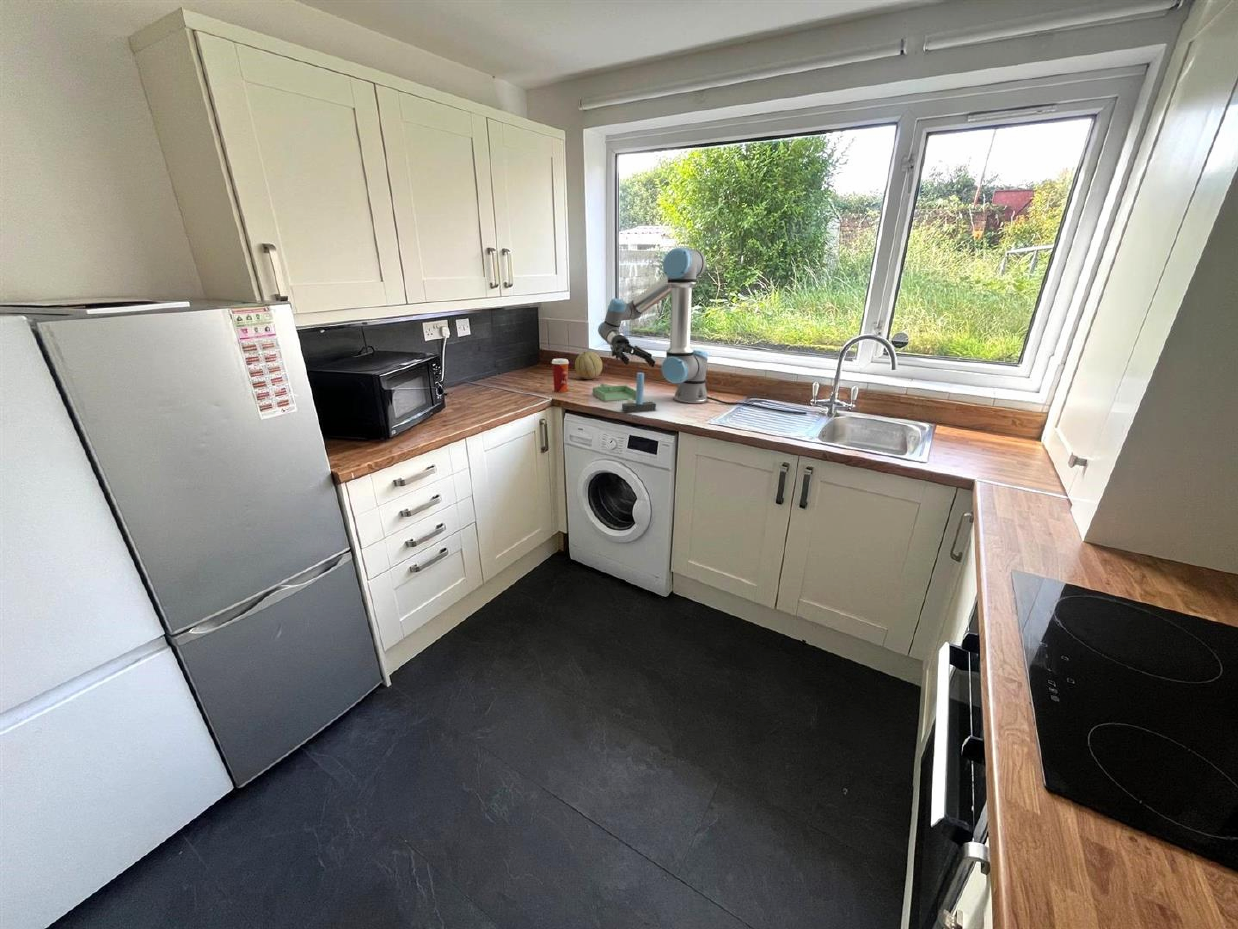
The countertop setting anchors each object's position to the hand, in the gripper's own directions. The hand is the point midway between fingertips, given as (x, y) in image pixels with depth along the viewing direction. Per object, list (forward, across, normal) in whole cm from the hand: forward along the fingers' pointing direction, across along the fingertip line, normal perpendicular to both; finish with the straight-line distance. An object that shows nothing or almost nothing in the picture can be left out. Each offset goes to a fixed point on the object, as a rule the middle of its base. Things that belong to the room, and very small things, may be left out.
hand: (641, 363), depth 212 cm
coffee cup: (-32, +16, -32) cm, 49 cm away
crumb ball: (+2, 0, -18) cm, 18 cm away
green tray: (-18, -3, -25) cm, 31 cm away
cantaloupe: (-52, -9, -35) cm, 63 cm away
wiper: (+11, +1, -17) cm, 20 cm away
